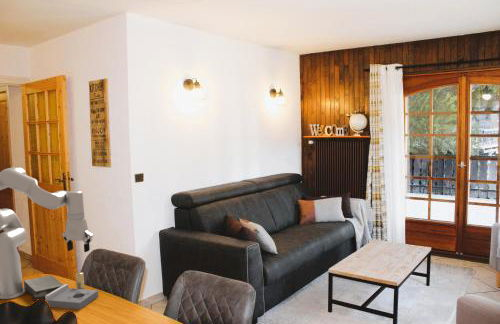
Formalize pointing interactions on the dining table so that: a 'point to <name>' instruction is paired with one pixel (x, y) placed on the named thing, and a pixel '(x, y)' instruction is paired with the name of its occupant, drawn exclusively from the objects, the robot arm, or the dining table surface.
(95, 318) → the dining table surface
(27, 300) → the dining table surface
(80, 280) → the brass pin
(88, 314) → the dining table surface
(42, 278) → the stone block
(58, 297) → the plate
